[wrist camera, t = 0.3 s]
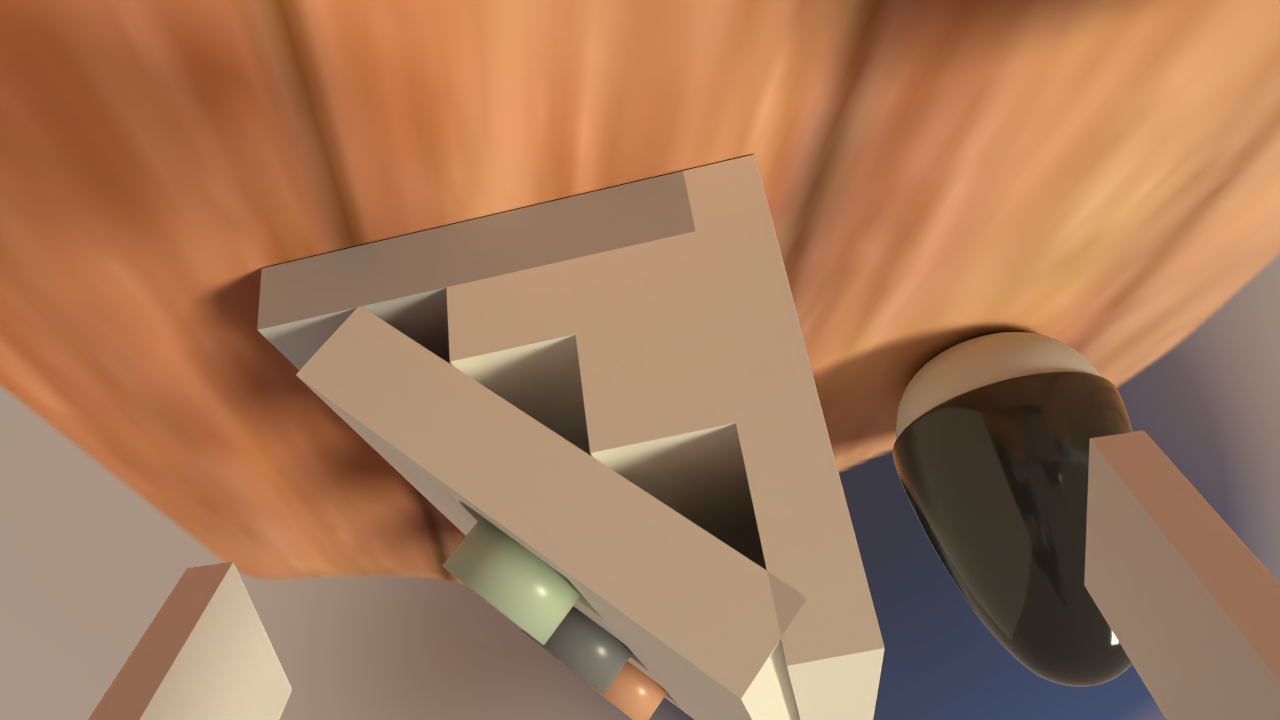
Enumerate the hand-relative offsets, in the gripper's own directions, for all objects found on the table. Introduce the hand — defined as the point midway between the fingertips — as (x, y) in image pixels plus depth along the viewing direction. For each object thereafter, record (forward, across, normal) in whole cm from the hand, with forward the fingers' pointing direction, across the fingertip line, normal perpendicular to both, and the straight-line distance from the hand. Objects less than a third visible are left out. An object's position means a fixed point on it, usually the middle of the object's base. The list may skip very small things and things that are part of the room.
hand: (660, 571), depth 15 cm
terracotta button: (+23, -5, -22) cm, 33 cm away
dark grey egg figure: (+30, +14, -14) cm, 36 cm away
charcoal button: (+19, -6, -15) cm, 25 cm away
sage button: (+14, -6, -8) cm, 17 cm away
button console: (+26, -4, -10) cm, 28 cm away
